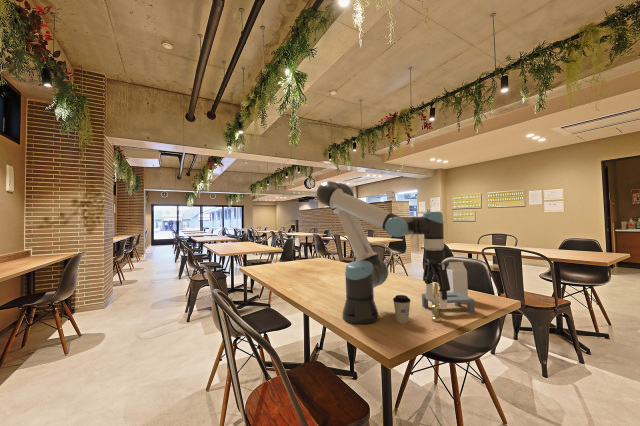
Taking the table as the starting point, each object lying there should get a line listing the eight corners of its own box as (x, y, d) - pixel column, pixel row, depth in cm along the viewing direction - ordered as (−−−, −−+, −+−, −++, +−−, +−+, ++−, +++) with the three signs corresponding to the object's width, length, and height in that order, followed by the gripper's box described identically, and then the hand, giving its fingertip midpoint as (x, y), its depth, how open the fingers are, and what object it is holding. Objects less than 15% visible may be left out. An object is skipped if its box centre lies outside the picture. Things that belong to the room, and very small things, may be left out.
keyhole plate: (434, 315, 116) (434, 301, 117) (422, 306, 128) (421, 293, 129) (474, 313, 118) (474, 299, 118) (458, 304, 129) (458, 292, 130)
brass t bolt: (434, 322, 108) (433, 284, 109) (430, 319, 112) (428, 282, 112) (443, 322, 109) (442, 284, 109) (439, 318, 112) (437, 282, 113)
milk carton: (468, 301, 134) (466, 263, 135) (453, 301, 134) (452, 263, 135) (461, 297, 141) (459, 260, 142) (447, 297, 141) (445, 261, 142)
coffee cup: (390, 319, 112) (389, 295, 112) (403, 317, 115) (402, 293, 115) (401, 325, 106) (400, 300, 106) (415, 322, 109) (414, 297, 109)
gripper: (459, 252, 100) (461, 312, 99) (429, 246, 123) (431, 295, 122) (439, 252, 99) (441, 313, 99) (413, 246, 122) (415, 295, 122)
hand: (436, 303), depth 110 cm, fingers open, 11 cm apart
